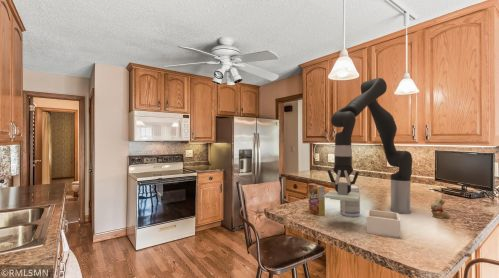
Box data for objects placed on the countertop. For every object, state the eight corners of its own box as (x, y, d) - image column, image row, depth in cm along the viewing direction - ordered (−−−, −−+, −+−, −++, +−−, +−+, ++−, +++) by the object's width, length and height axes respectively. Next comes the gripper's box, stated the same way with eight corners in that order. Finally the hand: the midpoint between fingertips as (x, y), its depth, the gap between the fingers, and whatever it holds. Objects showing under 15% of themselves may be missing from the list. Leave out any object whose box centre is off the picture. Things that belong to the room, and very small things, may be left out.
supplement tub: (363, 215, 128) (363, 187, 128) (352, 218, 122) (352, 188, 122) (347, 210, 136) (347, 184, 136) (336, 213, 130) (336, 186, 131)
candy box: (307, 211, 134) (307, 183, 134) (314, 210, 136) (314, 183, 136) (318, 216, 126) (318, 186, 126) (325, 215, 128) (325, 185, 128)
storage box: (367, 224, 113) (367, 209, 113) (398, 228, 108) (398, 212, 108) (366, 233, 103) (366, 216, 103) (400, 238, 97) (400, 220, 97)
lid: (330, 193, 122) (330, 180, 122) (360, 196, 116) (360, 182, 116) (325, 199, 110) (325, 184, 110) (358, 203, 104) (358, 186, 104)
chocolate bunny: (430, 214, 129) (430, 195, 129) (449, 217, 125) (449, 197, 125) (431, 217, 124) (431, 197, 124) (451, 220, 120) (451, 199, 120)
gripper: (360, 155, 113) (360, 192, 113) (328, 154, 120) (328, 189, 119) (359, 156, 106) (359, 195, 106) (325, 155, 113) (325, 192, 113)
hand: (343, 192), depth 113 cm, fingers closed on lid, 4 cm apart
